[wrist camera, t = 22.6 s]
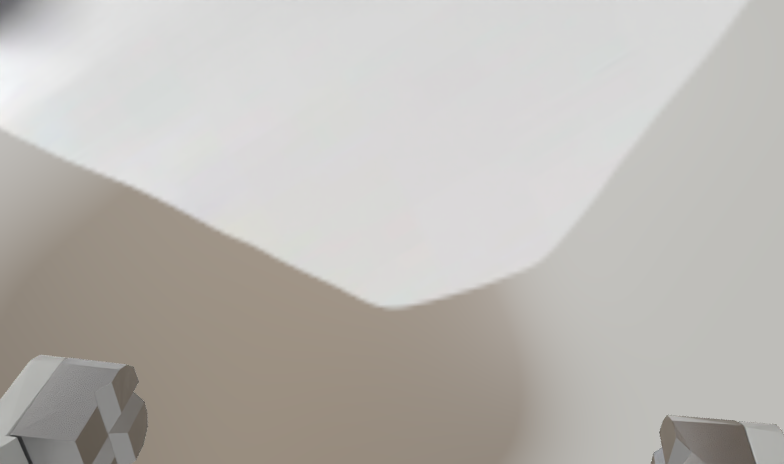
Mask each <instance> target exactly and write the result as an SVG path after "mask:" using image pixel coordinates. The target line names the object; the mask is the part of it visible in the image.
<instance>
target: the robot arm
mask: <svg viewBox="0 0 784 464" xmlns="http://www.w3.org/2000/svg"><path fill="white" fill-rule="evenodd" d="M138 382H139V381H138V378H137V375H136V372H135V369H134V367H133V366H129V365H125V364H117V363H109V362H100V361H93V360H92V361H91V360H84V359H76V358H63V357H55V356H46V355H39V356H37V357H35V358H34V359H32V360H31V361H29V363H28V364H27V365H26V367H25V368H24V369H23V371H22V372H21V373H20V375H19V376H18V377H17V378H16V380H15V381H14V382H13V384H12V385H11V386H10V388H9V389H8V390H7V391H6V393H5V394H4V395H3V397H2V398H1V399H0V464H131V463H133V462H134V461H135V460H136V459H137V457H138V455H139V453H140V451H141V449H142V447H143V445H144V440H145V436H146V432H147V427H148V420H147V418H148V417H147V409H146V406H145V402H144V401H143V400H142V399H141V398H140V397H139V396H138V395H136V394H135V393H134V392H133V391H134V390H135V388H136V386H137V384H138ZM659 433H660V439H661V444H662V448H660V449H659V450H657V451H656V452H654V453H653V457H652V461H651V464H784V434H783V432H782V430H781V429H780V428H779V427H778V426H777V425H776V424H765V423H754V422H743V421H739V422H737V421H734V420H722V419H721V420H720V419H710V418H698V417H686V416H672V415H667V416H666V417H665V418H664V420H663V422H662V425H661V428H660V432H659Z"/></svg>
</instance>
